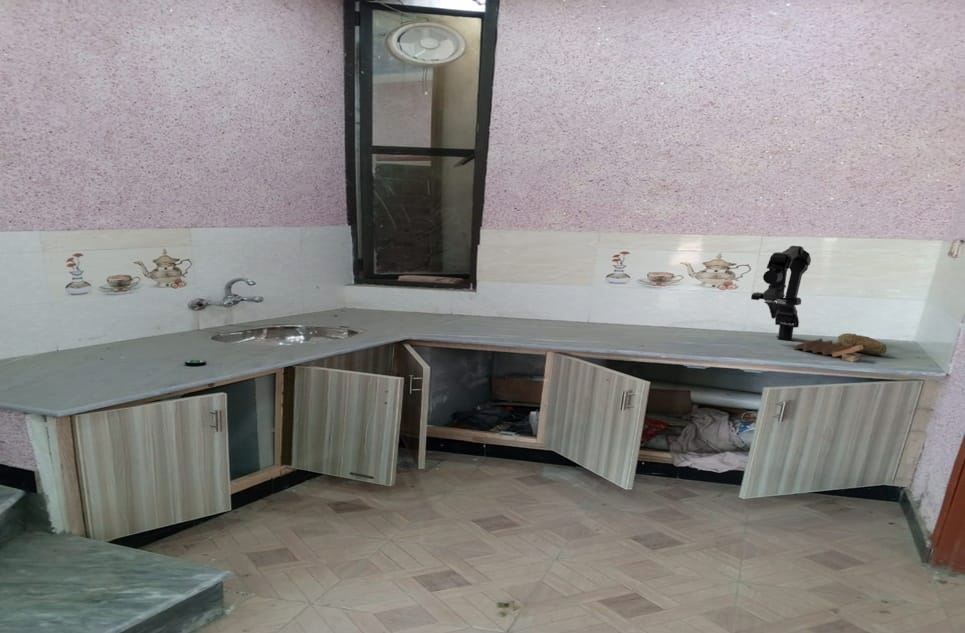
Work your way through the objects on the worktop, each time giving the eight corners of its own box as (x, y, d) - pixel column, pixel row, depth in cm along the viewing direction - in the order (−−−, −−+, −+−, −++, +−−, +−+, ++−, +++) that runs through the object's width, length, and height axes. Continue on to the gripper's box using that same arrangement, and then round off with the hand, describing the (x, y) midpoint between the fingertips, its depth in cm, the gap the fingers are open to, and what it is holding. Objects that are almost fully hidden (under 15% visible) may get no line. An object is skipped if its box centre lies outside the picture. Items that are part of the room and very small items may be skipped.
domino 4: (821, 351, 240) (847, 344, 233) (826, 349, 243) (851, 343, 236) (823, 355, 240) (848, 348, 232) (827, 353, 243) (853, 347, 236)
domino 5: (831, 353, 237) (858, 346, 230) (835, 351, 241) (862, 344, 233) (833, 356, 237) (859, 350, 230) (837, 355, 240) (863, 348, 233)
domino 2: (802, 347, 246) (826, 341, 238) (807, 346, 249) (831, 340, 241) (803, 351, 245) (828, 345, 238) (808, 349, 249) (832, 343, 241)
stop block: (841, 359, 234) (842, 354, 233) (848, 356, 239) (849, 352, 238) (852, 361, 231) (853, 357, 230) (859, 358, 236) (860, 354, 235)
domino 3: (811, 349, 243) (837, 343, 235) (816, 348, 246) (841, 341, 239) (813, 353, 243) (838, 347, 235) (817, 351, 246) (842, 345, 238)
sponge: (832, 348, 259) (856, 349, 239) (836, 331, 259) (860, 331, 239) (863, 355, 258) (889, 357, 238) (867, 338, 258) (894, 339, 238)
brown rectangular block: (793, 346, 248) (817, 340, 241) (797, 344, 252) (821, 338, 244) (794, 349, 248) (818, 343, 241) (799, 348, 251) (823, 342, 244)
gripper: (747, 281, 251) (743, 316, 254) (793, 286, 238) (788, 324, 241) (758, 279, 259) (754, 314, 262) (804, 284, 245) (798, 321, 248)
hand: (773, 318), depth 253 cm, fingers closed
